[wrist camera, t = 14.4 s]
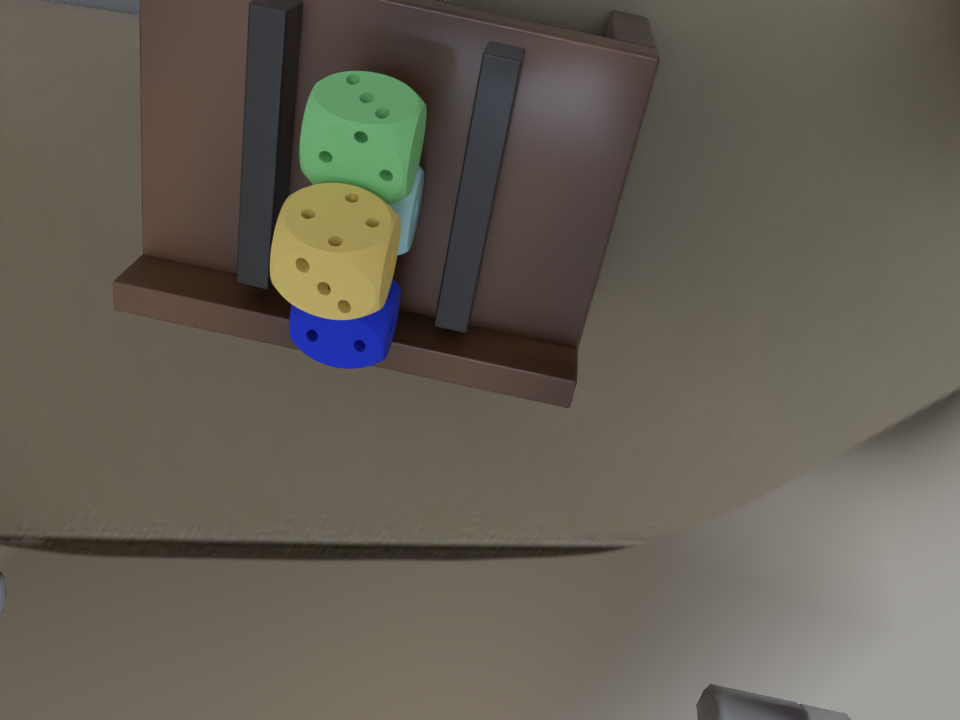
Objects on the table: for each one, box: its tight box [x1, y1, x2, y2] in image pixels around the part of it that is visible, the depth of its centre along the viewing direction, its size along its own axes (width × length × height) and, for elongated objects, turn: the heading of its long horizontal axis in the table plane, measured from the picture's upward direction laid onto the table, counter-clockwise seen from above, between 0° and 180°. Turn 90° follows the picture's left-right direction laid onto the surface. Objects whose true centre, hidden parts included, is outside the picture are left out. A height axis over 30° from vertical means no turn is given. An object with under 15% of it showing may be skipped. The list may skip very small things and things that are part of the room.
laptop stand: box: [113, 0, 659, 408], centre depth 28 cm, size 14×10×8 cm
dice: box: [270, 71, 427, 368], centre depth 23 cm, size 8×3×6 cm, turn 170°
